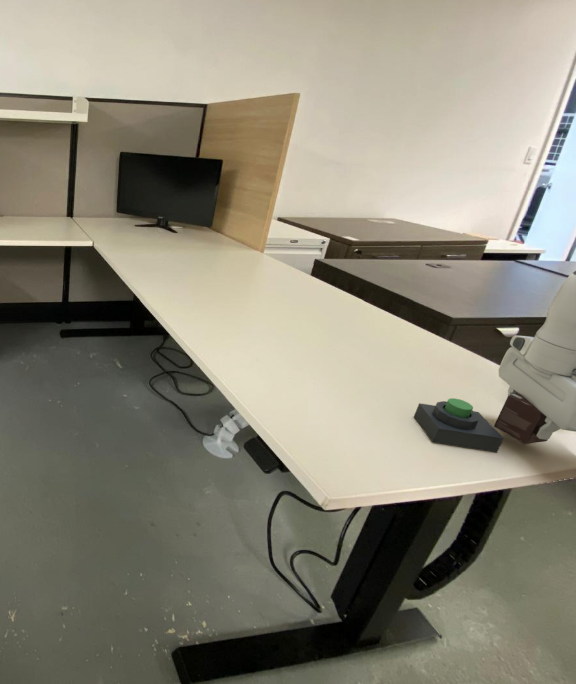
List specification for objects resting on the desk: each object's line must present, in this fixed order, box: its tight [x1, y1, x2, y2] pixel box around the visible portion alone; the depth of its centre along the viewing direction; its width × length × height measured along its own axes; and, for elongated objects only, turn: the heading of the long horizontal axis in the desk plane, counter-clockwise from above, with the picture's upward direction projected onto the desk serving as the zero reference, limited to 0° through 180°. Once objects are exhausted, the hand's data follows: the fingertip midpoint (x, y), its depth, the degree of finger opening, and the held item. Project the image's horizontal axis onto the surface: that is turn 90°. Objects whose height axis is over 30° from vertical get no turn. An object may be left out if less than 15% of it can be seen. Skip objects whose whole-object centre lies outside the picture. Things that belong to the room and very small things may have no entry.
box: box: [493, 394, 548, 445], centre depth 87 cm, size 6×6×7 cm
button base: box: [413, 400, 505, 453], centre depth 89 cm, size 11×9×5 cm
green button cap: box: [444, 397, 474, 418], centre depth 88 cm, size 4×4×2 cm
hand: (525, 423), depth 87 cm, fingers closed on box, 7 cm apart
